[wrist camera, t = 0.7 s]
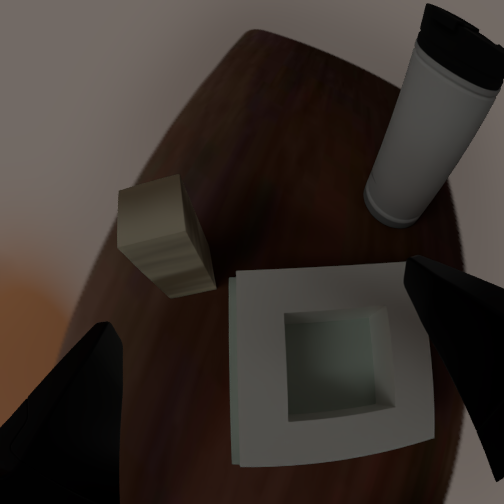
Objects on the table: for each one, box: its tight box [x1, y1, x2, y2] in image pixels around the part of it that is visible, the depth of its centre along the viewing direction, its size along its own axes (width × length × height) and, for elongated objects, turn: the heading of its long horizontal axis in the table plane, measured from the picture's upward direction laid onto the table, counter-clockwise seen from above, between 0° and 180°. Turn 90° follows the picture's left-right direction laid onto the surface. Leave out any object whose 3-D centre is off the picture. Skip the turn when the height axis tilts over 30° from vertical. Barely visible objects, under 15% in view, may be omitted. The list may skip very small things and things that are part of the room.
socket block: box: [229, 262, 434, 467], centre depth 19 cm, size 15×15×5 cm
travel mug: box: [364, 3, 504, 228], centre depth 18 cm, size 6×7×20 cm
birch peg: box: [117, 174, 217, 298], centre depth 21 cm, size 4×4×10 cm
